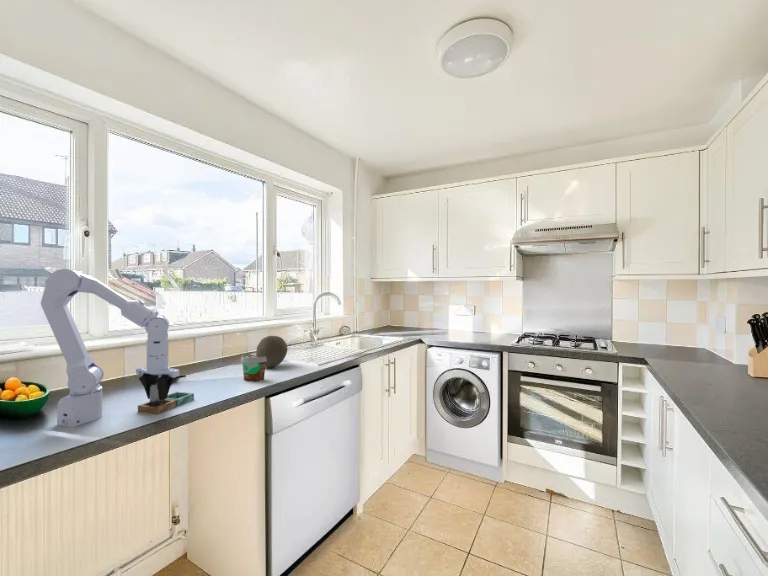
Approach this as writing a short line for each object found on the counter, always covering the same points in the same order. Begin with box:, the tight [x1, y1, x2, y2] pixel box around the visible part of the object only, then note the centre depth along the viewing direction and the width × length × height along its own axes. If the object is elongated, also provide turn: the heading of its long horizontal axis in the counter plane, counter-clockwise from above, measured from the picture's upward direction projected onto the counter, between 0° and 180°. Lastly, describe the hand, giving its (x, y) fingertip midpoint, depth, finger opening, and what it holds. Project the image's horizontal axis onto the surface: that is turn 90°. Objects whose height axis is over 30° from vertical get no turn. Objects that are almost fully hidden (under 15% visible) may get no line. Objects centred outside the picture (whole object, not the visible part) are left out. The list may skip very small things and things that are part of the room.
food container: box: [240, 353, 267, 382], centre depth 149 cm, size 12×6×10 cm, turn 62°
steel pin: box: [149, 382, 165, 407], centre depth 111 cm, size 4×4×8 cm
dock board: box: [136, 391, 195, 416], centre depth 114 cm, size 16×7×3 cm, turn 166°
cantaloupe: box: [255, 335, 288, 369], centre depth 172 cm, size 14×14×15 cm
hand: (157, 398), depth 111 cm, fingers closed on steel pin, 4 cm apart
